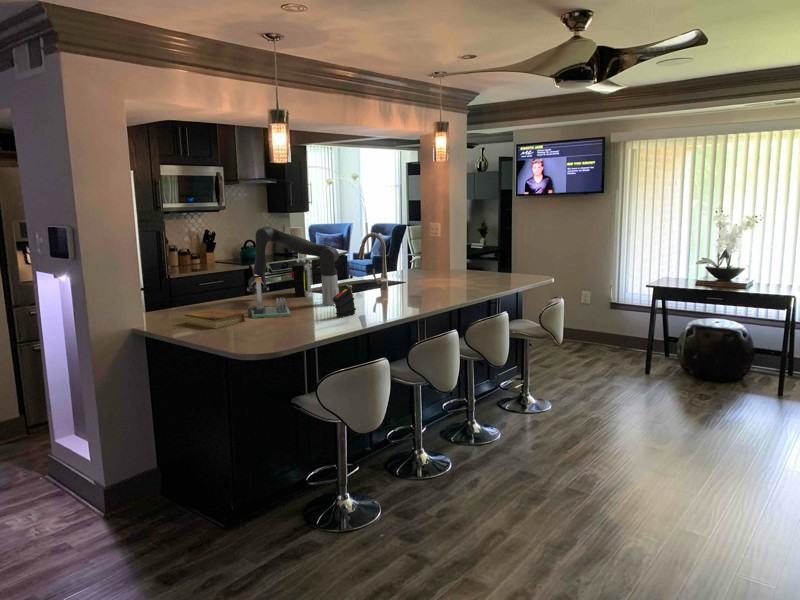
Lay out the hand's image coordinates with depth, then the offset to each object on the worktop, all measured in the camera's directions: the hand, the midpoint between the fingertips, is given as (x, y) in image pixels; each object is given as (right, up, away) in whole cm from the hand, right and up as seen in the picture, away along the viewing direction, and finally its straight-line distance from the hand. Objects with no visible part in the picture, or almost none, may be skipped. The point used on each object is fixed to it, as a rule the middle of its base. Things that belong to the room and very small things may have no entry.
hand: (258, 291), depth 339 cm
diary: (-14, -17, -33) cm, 40 cm away
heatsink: (+7, -12, -10) cm, 17 cm away
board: (+9, -12, -10) cm, 18 cm away
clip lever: (+1, -10, -6) cm, 11 cm away
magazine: (+50, -14, -18) cm, 55 cm away
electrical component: (+16, -2, +51) cm, 54 cm away
